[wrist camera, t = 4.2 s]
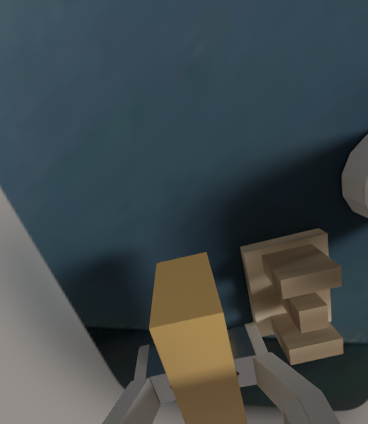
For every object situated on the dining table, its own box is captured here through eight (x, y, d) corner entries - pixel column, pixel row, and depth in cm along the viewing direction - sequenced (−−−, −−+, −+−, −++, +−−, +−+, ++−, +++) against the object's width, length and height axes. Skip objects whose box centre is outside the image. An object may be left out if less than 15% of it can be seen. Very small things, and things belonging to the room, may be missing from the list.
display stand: (239, 246, 17) (259, 277, 13) (318, 228, 17) (361, 254, 13) (254, 327, 19) (274, 373, 15) (323, 312, 19) (360, 355, 15)
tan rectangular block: (154, 263, 11) (146, 329, 8) (206, 252, 11) (223, 312, 8) (187, 364, 14) (192, 449, 10) (229, 355, 14) (250, 437, 10)
